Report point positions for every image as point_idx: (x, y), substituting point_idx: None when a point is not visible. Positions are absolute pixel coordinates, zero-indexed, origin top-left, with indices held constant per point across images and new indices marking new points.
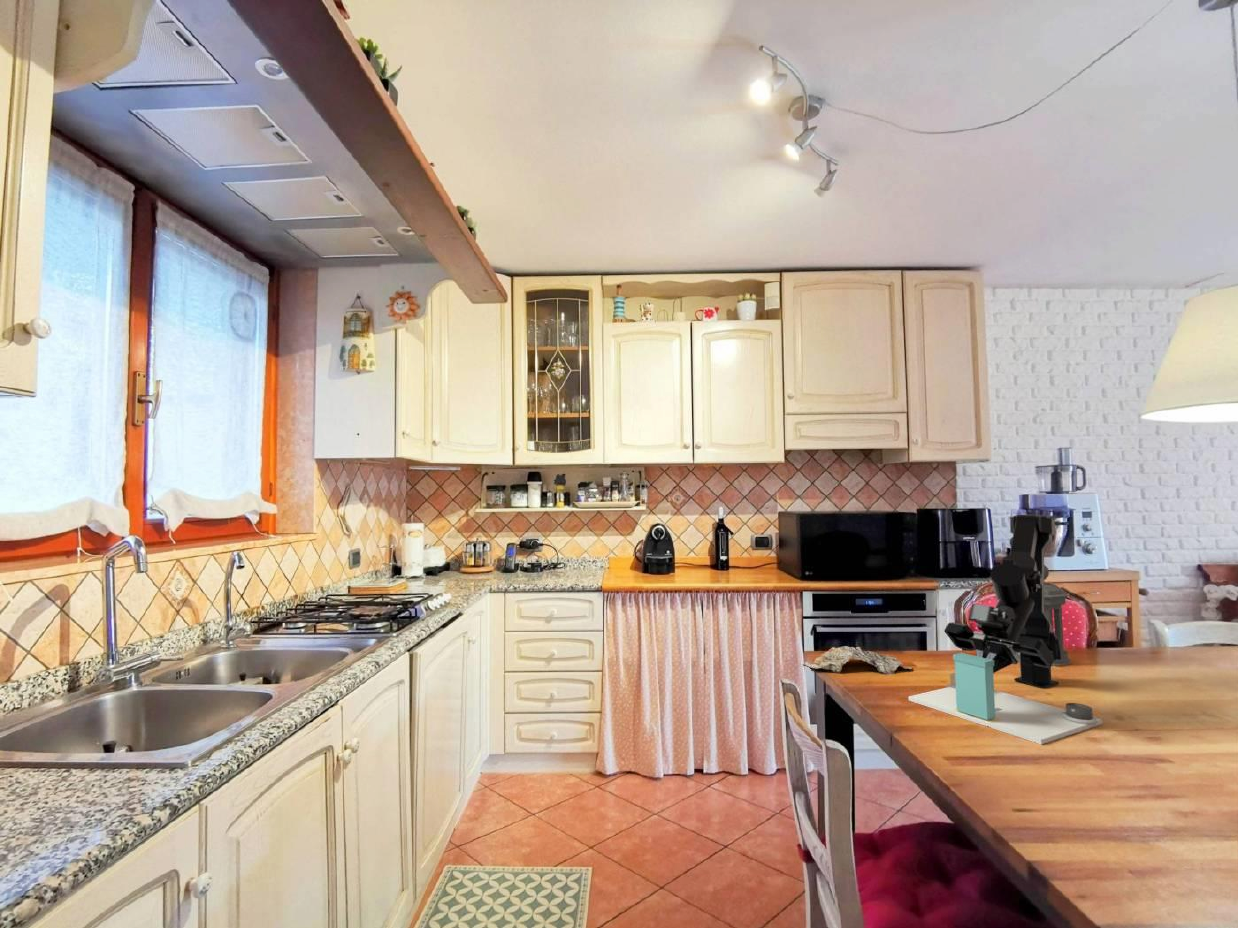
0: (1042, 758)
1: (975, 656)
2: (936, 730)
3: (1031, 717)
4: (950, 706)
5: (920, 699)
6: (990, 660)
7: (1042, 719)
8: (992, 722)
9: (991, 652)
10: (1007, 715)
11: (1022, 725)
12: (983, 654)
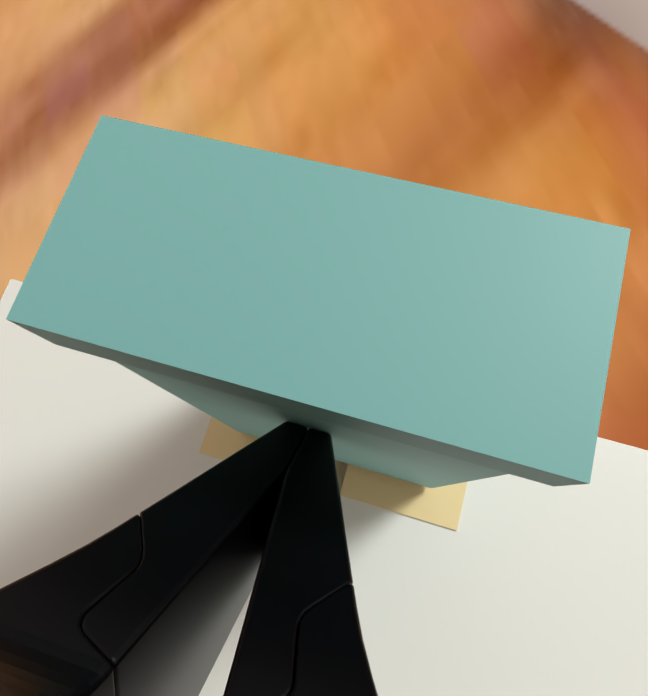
0: (15, 139)
1: (302, 371)
2: (430, 130)
3: None
4: (518, 485)
5: None
6: (54, 275)
7: None
8: None
9: (38, 662)
10: None
11: (103, 434)
12: (233, 673)
